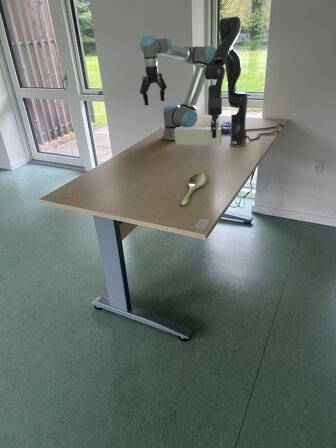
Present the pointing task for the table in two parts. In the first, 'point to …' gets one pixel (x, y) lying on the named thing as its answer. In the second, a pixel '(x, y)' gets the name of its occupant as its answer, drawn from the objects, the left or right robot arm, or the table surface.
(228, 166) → the table surface
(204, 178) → the spoon
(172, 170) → the table surface
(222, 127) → the spray gun
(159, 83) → the left robot arm
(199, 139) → the bar
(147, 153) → the table surface
